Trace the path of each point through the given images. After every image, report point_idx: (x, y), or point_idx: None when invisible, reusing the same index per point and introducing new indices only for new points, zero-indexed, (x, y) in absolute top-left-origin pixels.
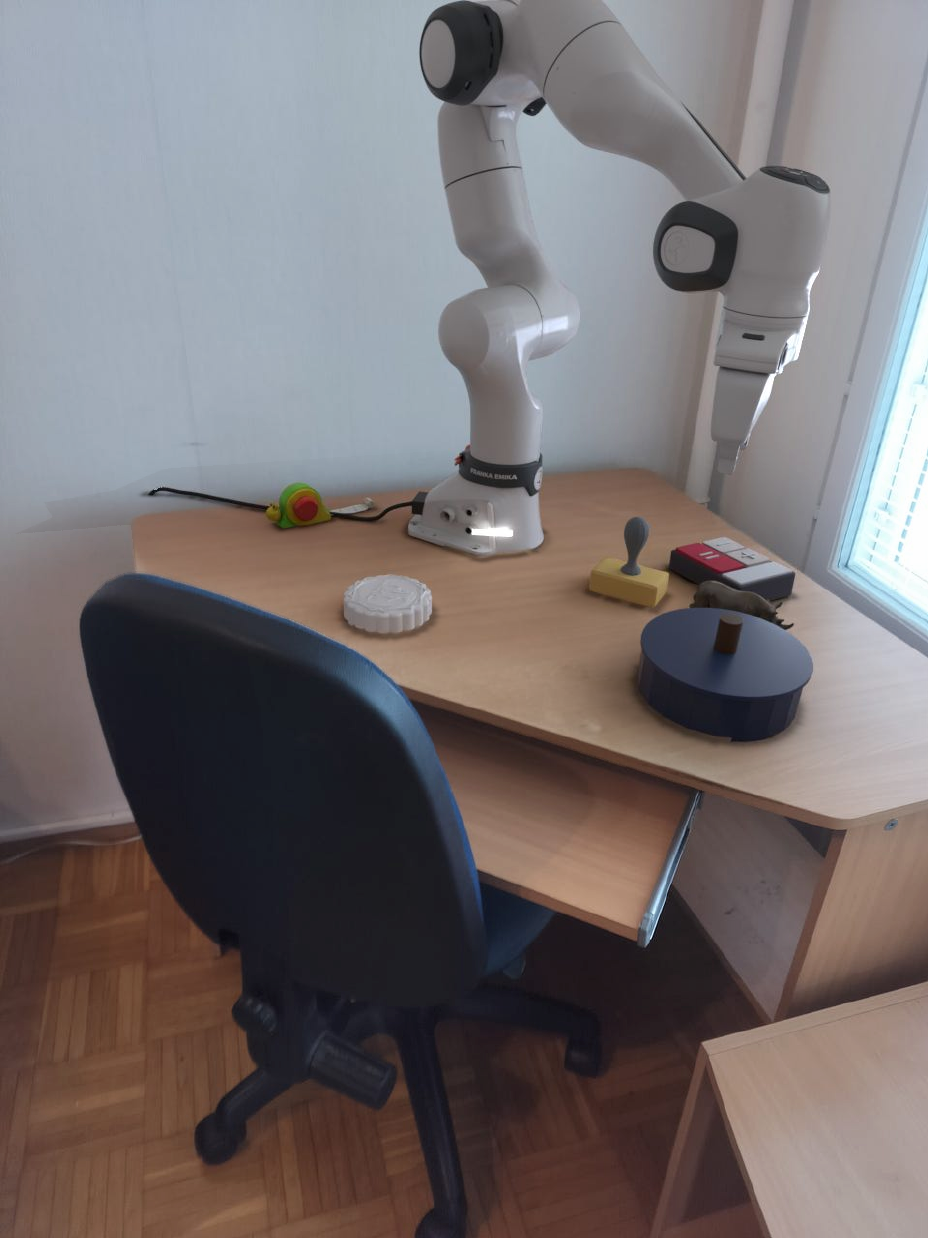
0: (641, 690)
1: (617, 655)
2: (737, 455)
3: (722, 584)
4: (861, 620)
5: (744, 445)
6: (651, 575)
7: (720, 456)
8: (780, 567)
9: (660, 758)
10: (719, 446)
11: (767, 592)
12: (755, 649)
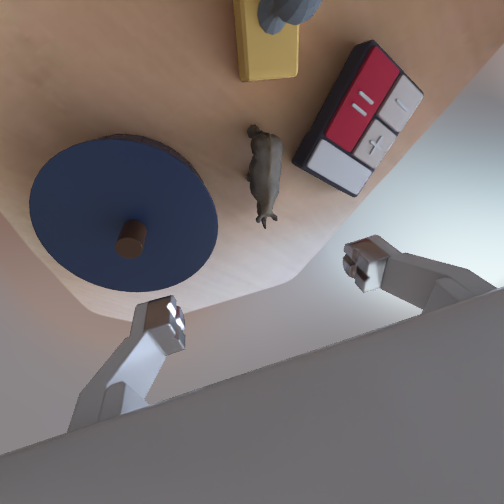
0: None
1: (116, 92)
2: (158, 369)
3: (270, 166)
4: (325, 242)
5: (348, 272)
6: (276, 54)
7: (124, 343)
8: (359, 183)
9: (10, 216)
10: (86, 385)
11: (324, 181)
12: (157, 248)
